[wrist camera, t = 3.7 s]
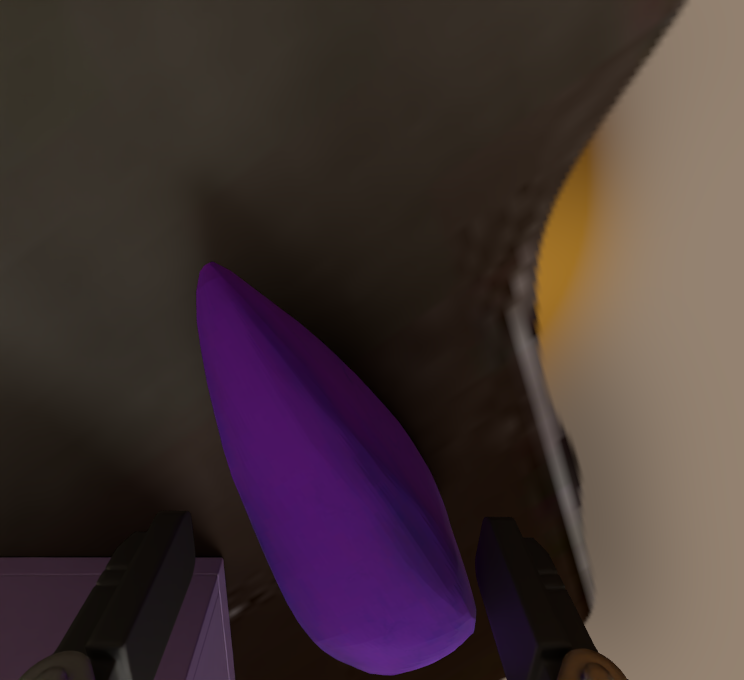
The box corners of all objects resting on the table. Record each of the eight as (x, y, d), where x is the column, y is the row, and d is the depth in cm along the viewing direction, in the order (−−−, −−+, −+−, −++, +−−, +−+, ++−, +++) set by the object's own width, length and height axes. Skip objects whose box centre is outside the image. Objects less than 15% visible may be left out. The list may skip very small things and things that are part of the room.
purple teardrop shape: (260, 228, 9) (531, 703, 13) (298, 217, 14) (489, 569, 18) (67, 334, 10) (383, 754, 14) (167, 288, 14) (380, 612, 18)
